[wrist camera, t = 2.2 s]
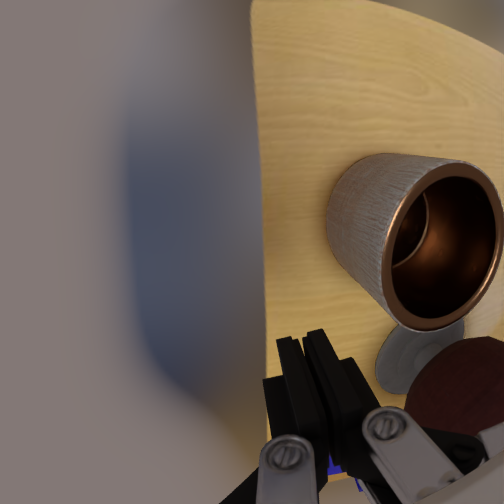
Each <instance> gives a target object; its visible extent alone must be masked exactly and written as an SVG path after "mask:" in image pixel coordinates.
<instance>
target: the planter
mask: <svg viewBox="0 0 504 504" xmlns="http://www.w3.org/2000/svg"><path fill="white" fill-rule="evenodd" d="M326 231H327V238H328V241H329V244H330V247H331V249H332V252H333V254H334V255H335V257H336V259H337V261H338V262H339V263H340V265H341V266H342V267H343V268H344V269H345V270H346V271H347V272H348V273H349V274H350V275H351V276H352V277H353V278H354V279H355V280H356V281H357V282H358V283H359V284H360V285H361V286H362V287H363V288H364V289H365V290H366V291H367V292H368V293H369V294H370V295H371V296H372V297H373V298H374V299H375V300H376V301H377V302H378V303H379V304H380V305H381V307H382V308H383V309H384V310H385V311H386V312H387V313H388V314H389V315H390V316H391V317H392V318H393V319H394V320H395V321H396V322H397V323H398V324H399V325H401V326H402V327H404V328H406V329H408V330H411V331H414V332H421V333H428V332H435V331H439V330H442V329H444V328H447V327H449V326H451V325H453V324H454V323H456V322H458V321H459V320H461V319H462V318H463V317H464V316H466V315H467V314H468V313H469V312H470V311H471V310H472V309H473V308H474V307H475V306H476V305H477V304H478V302H479V301H480V300H481V299H482V297H483V296H484V294H485V293H486V291H487V290H488V288H489V286H490V284H491V283H492V281H493V279H494V276H495V274H496V272H497V269H498V266H499V263H500V260H501V256H502V251H503V246H504V212H503V207H502V203H501V200H500V197H499V194H498V192H497V190H496V188H495V186H494V184H493V182H492V181H491V180H490V178H489V177H488V176H487V175H486V174H485V173H484V172H483V171H482V170H481V169H480V168H478V167H477V166H475V165H473V164H471V163H468V162H465V161H460V160H453V159H444V158H435V157H426V156H416V155H407V154H396V153H381V154H376V155H372V156H369V157H366V158H364V159H362V160H360V161H358V162H356V163H355V164H354V165H352V166H351V167H350V168H349V169H348V170H347V171H346V172H345V173H344V174H343V175H342V176H341V178H340V179H339V181H338V182H337V184H336V186H335V187H334V189H333V192H332V194H331V196H330V199H329V203H328V207H327V213H326Z"/></svg>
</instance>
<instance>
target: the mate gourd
mask: <svg viewBox="0 0 504 504" xmlns="http://www.w3.org/2000/svg"><path fill="white" fill-rule="evenodd" d="M463 335H464V321H463V318H462V319H461V320H459V321H458V322H456V323H454V324H453V325H451V326H449V327H447V328H444V329H442V330H439V331H435V332H428V333H421V332H414V331H411V330H408V329H406V328H404V327H402V326H401V325H398V326H397V327H396V328H395V329H394V330H393V331H392V332H391V334H390V335H389V336H388V337H387V339H386V341H385V342H384V344H383V346H382V347H381V349H380V352H379V354H378V356H377V360H376V365H375V374H376V378H377V381H378V382H379V384H380V385H381V387H382V388H383V389H384V390H385V391H387V392H389V393H392V394H406V393H408V394H407V398H406V403H405V407H404V411H405V412H407V413H408V414H409V415H410V416H411V417H412V419H413V420H414V421H415V422H416V423H417V424H418V425H419V426H423V427H428V428H433V429H438V430H443V431H449V432H455V433H461V434H467V435H471V436H475V435H477V434H478V432H479V431H482V430H485V429H487V428H490V427H492V426H495V425H497V424H500V423H502V422H504V342H502V341H500V340H497V339H495V338H492V337H489V336H486V337H476V338H468V339H463Z"/></svg>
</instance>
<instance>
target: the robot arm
mask: <svg viewBox="0 0 504 504" xmlns="http://www.w3.org/2000/svg"><path fill="white" fill-rule="evenodd" d="M302 341H303V348H304V353H303V351H302V348H301V345H300V343H299V340H298V339H294V340H292V337H291V336H289V337H285V338H280V339H276V342H277V347H278V352H279V357H280V362H281V367H282V372H283V375H280V376H276V377H271V378H267V379H263V387H264V393H265V399H266V406H267V412H268V418H269V424H270V430H271V436H272V439H271V440H270V441H269V442H268V443H266V444H265V446H264V447H263V448H262V450H261V453H260V459H259V467H258V468H257V469H256V470H255V471H254V472H253V473H252V474H251V475H250V476H249V477H248V478H247V479H245V480H244V482H242V483H241V484H240V485H239V486H238V487H237V488H236V489H235V490H234V491H233V492H232V493H231V494H229V495H228V496H227V497H226V498H225V499H224V500H223V501H222V502H221V503H219V504H319V492H320V491H321V489H322V488H323V487H324V485H325V484H326V483H327V482H328V472H327V469H328V468H330V464H329V453H330V456H331V459H332V462H333V465H334V467H335V466H339V465H340V468H341V471H342V473H343V472H347V475H348V476H351V477H354V478H357V481H358V483H359V485H360V487H361V488H362V490H363V491H364V493H365V495H366V496H367V498H368V500H369V501H370V503H371V504H504V422H502V423H500V424H497V425H495V426H492V427H490V428H487V429H485V430H482V431H479V432H478V434H477V435H475V436H471V435H467V434H461V433H455V432H449V431H443V430H438V429H433V428H428V427H423V426H419V425H418V424H417V423H416V422H415V421H414V420H413V419H412V417H411V416H410V415H409V414H408V413H407V412H405V411H404V410H403V409H401V408H398V407H393V406H385V407H381V406H380V404H379V402H378V400H377V399H376V397H375V395H374V393H373V392H372V390H371V388H370V386H369V385H368V383H367V381H366V379H365V378H364V376H363V374H362V372H361V371H360V369H359V367H358V366H357V364H356V362H355V360H354V359H353V358H352V357H349V358H346V359H343V360H339V359H338V357H337V355H336V353H335V351H334V349H333V347H332V345H331V343H330V341H329V340H328V338H327V336H326V334H325V332H324V330H323V329H322V328H321V329H318V330H314V331H310V332H307V336H306V337H302ZM304 355H305V356H304Z"/></svg>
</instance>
